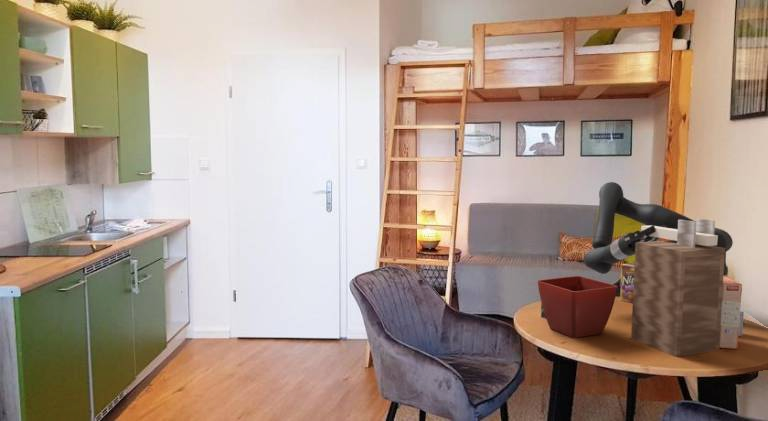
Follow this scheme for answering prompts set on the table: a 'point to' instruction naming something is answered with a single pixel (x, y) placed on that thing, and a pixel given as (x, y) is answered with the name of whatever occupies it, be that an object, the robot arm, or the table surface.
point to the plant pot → (577, 304)
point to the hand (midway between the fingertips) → (659, 228)
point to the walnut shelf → (678, 292)
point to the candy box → (627, 283)
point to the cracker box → (730, 313)
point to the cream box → (672, 233)
